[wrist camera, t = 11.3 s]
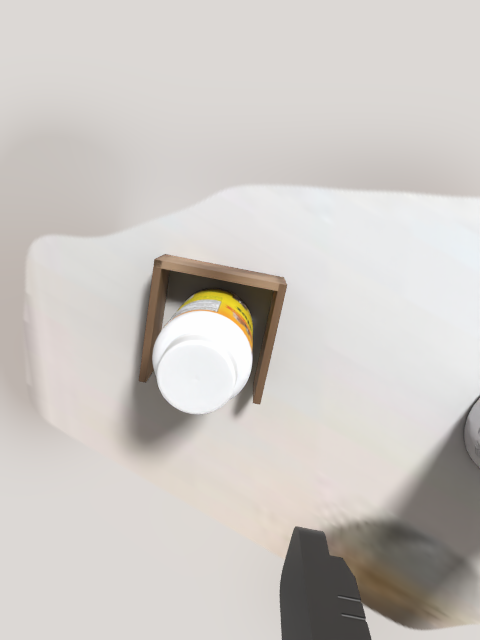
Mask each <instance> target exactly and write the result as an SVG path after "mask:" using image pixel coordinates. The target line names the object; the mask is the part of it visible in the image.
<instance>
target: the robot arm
mask: <svg viewBox="0 0 480 640" xmlns="http://www.w3.org/2000/svg"><path fill="white" fill-rule="evenodd" d="M464 441H465V445H466V449H467V451H468V453H469V455H470V457H471V459H472V460H473V461H474V462H475V463H476V465H477V466H478V467H479V468H480V398H479V400H478V401H477V402H476V403H475V404H474V406H473V407H472V409H471V411H470V413H469V415H468V417H467V421H466V424H465V428H464ZM280 612H281V629H282V640H371V636H370V633H369V628H368V625H367V622H366V621H365V618H366V617H365V613H364V609H363V606H362V603H361V598H360V594H359V590H358V587H357V583H356V579H355V577H354V575H353V574H352V572H351V570H350V569H349V567H348V566H347V564H346V563H345V561H344V560H343V558H340V557H335V556H330V555H329V551H328V546H327V541H326V536H325V534H324V532H323V531H317V530H312V529H307V528H302V527H297V526H296V527H295V528H294V530H293V534H292V537H291V541H290V544H289V548H288V552H287V555H286V559H285V563H284V566H283V570H282V575H281V582H280Z"/></svg>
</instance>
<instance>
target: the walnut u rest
mask: <svg viewBox="0 0 480 640" xmlns="http://www.w3.org/2000/svg"><path fill="white" fill-rule="evenodd" d="M170 270H172V271H177V272H182V273H187V274H192V275H197V276H203V277H208V278H213V279H218V280H223V281H228V282H233V283H238V284H244V285H249V286H254V287H259V288H264V289H269V290H274V292H273V296H272V301H271V306H270V310H269V315H268V319H267V324H266V329H265V333H264V338H263V342H262V347H261V351H260V356H259V361H258V365H257V370H256V374H255V379H254V384H253V403H255V404H260V402H261V398H262V394H263V389H264V385H265V380H266V376H267V372H268V367H269V363H270V358H271V354H272V350H273V345H274V341H275V336H276V332H277V327H278V323H279V319H280V314H281V310H282V305H283V301H284V297H285V292H286V288H287V284H286V281H285V279H284V277H279V276H274V275H268V274H263V273H258V272H253V271H248V270H243V269H238V268H233V267H228V266H222V265H217V264H212V263H207V262H202V261H197V260H192V259H187V258H182V257H177V256H171V255H166V254H165V255H162V256H160V257H158V258H156V259H155V260H154V267H153V275H152V283H151V291H150V298H149V306H148V314H147V321H146V329H145V337H144V344H143V352H142V360H141V367H140V375H139V381H140V382H145V383H146V382H147V380H148V378H149V377H150V375H151V374H152V372H153V371H154V368H153V361H152V355H153V348H154V344H155V341H156V339H157V337H158V335H159V334H160V332H161V330H162V323H163V315H164V308H165V301H166V294H167V287H168V280H169V273H170Z"/></svg>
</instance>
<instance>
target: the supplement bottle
mask: <svg viewBox="0 0 480 640" xmlns="http://www.w3.org/2000/svg"><path fill="white" fill-rule="evenodd" d="M252 360H253V323H252V317H251V314H250V311H249V309H248V307H247V306H246V304H245V303H244V302H243V301H242V300H241V299H240V298H239V297H238V296H237V295H235V294H233V293H232V292H229V291H227V290H224V289H218V288H210V289H204V290H201V291H198V292H196V293H195V294H193V295H192V296H190V297H189V298H188V299H187V300H186V301H185V302H184V303H183V304H182V306H181V307H180V308H179V309H178V311H177V312H176V313H175V314H174V315H173V317H172V318H171V319H170V321H168V323H167V324H166V325H165V327H164V328H163V329H162V331H161V332H160V334H159V335H158V337H157V339H156V341H155V344H154V348H153V355H152V361H153V368H154V372H155V375H156V377H157V384H158V387H159V390H160V392H161V394H162V395H163V397H164V398H165V399H166V401H167V402H168V403H169V404H171V405H172V406H173V407H175V408H176V409H178V410H180V411H182V412H185V413H189V414H206V413H210V412H213V411H215V410H217V409H219V408H220V407H222V406H223V405H224V404H225V403H226V402H227V401H229V400H230V399H232V398H233V397H235V396H236V395H237V394H238V393H239V392H240V391H241V390H242V389H243V387H244V386H245V384H246V383H247V381H248V379H249V376H250V373H251V368H252Z"/></svg>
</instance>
